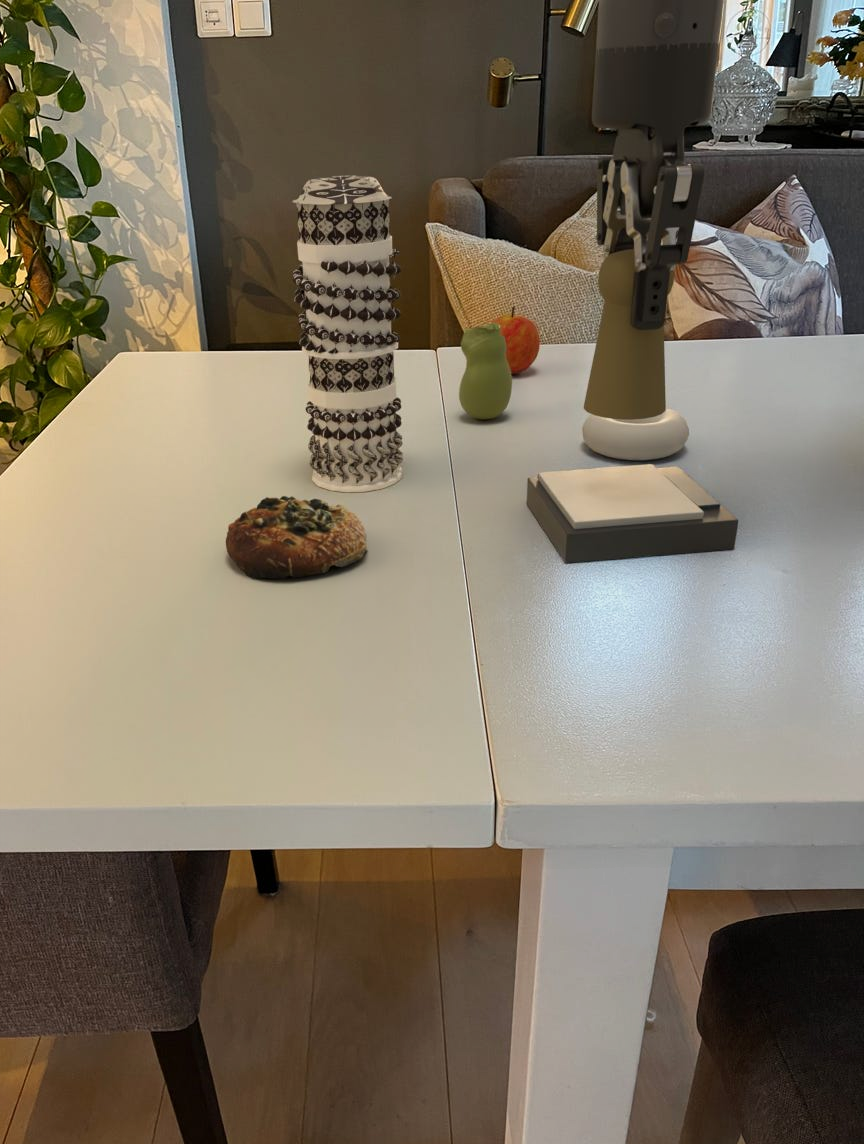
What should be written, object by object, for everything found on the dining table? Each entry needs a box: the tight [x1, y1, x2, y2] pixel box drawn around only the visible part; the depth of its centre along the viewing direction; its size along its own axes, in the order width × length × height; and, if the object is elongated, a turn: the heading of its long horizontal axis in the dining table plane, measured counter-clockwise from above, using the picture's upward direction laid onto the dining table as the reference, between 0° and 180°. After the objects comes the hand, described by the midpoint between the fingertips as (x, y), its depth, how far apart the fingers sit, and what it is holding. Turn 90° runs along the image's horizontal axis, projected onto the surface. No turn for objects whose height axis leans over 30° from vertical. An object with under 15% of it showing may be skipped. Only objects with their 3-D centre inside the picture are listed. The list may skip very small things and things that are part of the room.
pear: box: [458, 322, 513, 421], centre depth 100 cm, size 6×5×10 cm
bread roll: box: [225, 495, 369, 580], centre depth 73 cm, size 11×11×5 cm
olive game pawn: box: [583, 249, 676, 420], centre depth 69 cm, size 6×6×11 cm
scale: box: [526, 463, 740, 564], centre depth 75 cm, size 13×12×3 cm
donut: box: [581, 407, 690, 461], centre depth 91 cm, size 10×4×10 cm
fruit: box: [490, 306, 541, 375], centre depth 117 cm, size 7×7×8 cm
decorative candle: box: [291, 175, 404, 493], centre depth 82 cm, size 9×9×25 cm
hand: (632, 319), depth 68 cm, fingers closed on olive game pawn, 5 cm apart
